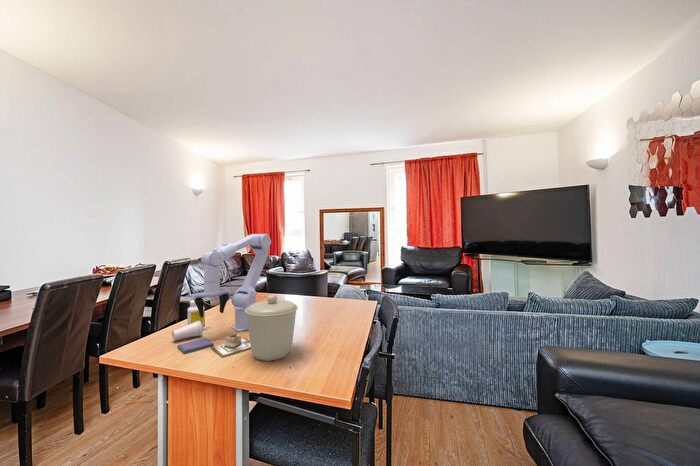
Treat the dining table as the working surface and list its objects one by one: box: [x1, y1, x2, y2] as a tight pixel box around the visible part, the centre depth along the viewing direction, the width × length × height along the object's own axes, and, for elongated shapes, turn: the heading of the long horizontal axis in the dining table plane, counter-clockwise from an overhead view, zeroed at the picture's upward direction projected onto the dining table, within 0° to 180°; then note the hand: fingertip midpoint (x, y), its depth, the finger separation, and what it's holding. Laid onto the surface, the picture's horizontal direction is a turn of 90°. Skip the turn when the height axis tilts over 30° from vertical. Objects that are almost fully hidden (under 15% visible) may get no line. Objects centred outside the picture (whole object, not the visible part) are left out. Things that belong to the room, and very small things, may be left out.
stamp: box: [224, 332, 242, 349], centre depth 103 cm, size 4×4×5 cm
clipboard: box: [210, 337, 251, 359], centre depth 103 cm, size 14×11×1 cm
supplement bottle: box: [187, 300, 206, 328], centre depth 121 cm, size 7×7×13 cm
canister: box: [245, 294, 299, 361], centre depth 97 cm, size 18×18×21 cm
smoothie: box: [171, 321, 212, 341], centre depth 113 cm, size 6×6×14 cm
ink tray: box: [177, 337, 214, 355], centre depth 103 cm, size 10×8×1 cm
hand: (211, 314), depth 111 cm, fingers open, 7 cm apart
